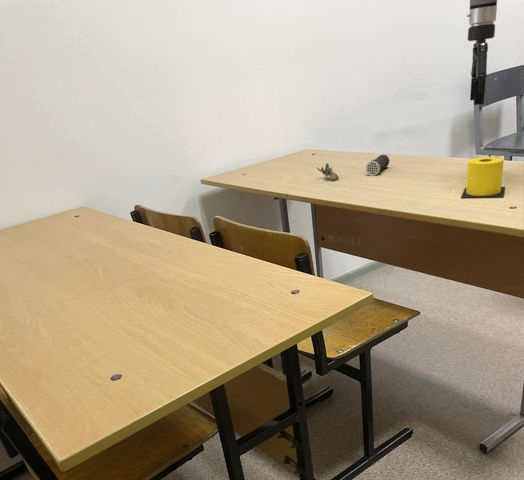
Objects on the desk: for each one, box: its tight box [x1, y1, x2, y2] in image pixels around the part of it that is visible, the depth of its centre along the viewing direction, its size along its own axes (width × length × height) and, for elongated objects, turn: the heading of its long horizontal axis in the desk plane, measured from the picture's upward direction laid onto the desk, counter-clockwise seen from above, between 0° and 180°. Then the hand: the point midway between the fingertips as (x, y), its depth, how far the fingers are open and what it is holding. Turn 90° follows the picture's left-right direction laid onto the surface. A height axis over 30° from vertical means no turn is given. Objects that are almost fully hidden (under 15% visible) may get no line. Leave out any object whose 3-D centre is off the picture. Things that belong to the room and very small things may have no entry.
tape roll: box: [465, 156, 505, 196], centre depth 164 cm, size 10×10×9 cm
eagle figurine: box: [316, 163, 339, 182], centre depth 209 cm, size 8×7×9 cm
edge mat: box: [460, 186, 506, 199], centre depth 166 cm, size 12×12×1 cm
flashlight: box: [365, 154, 390, 177], centre depth 211 cm, size 15×5×5 cm, turn 153°
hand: (476, 102), depth 169 cm, fingers open, 13 cm apart
